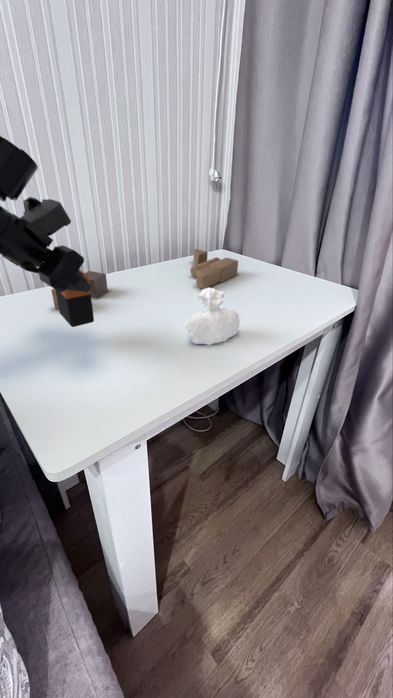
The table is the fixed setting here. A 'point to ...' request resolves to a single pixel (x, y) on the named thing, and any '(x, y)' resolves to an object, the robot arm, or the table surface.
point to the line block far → (97, 284)
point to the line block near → (55, 299)
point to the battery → (76, 305)
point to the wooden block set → (212, 269)
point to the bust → (212, 320)
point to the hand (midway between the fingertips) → (78, 283)
